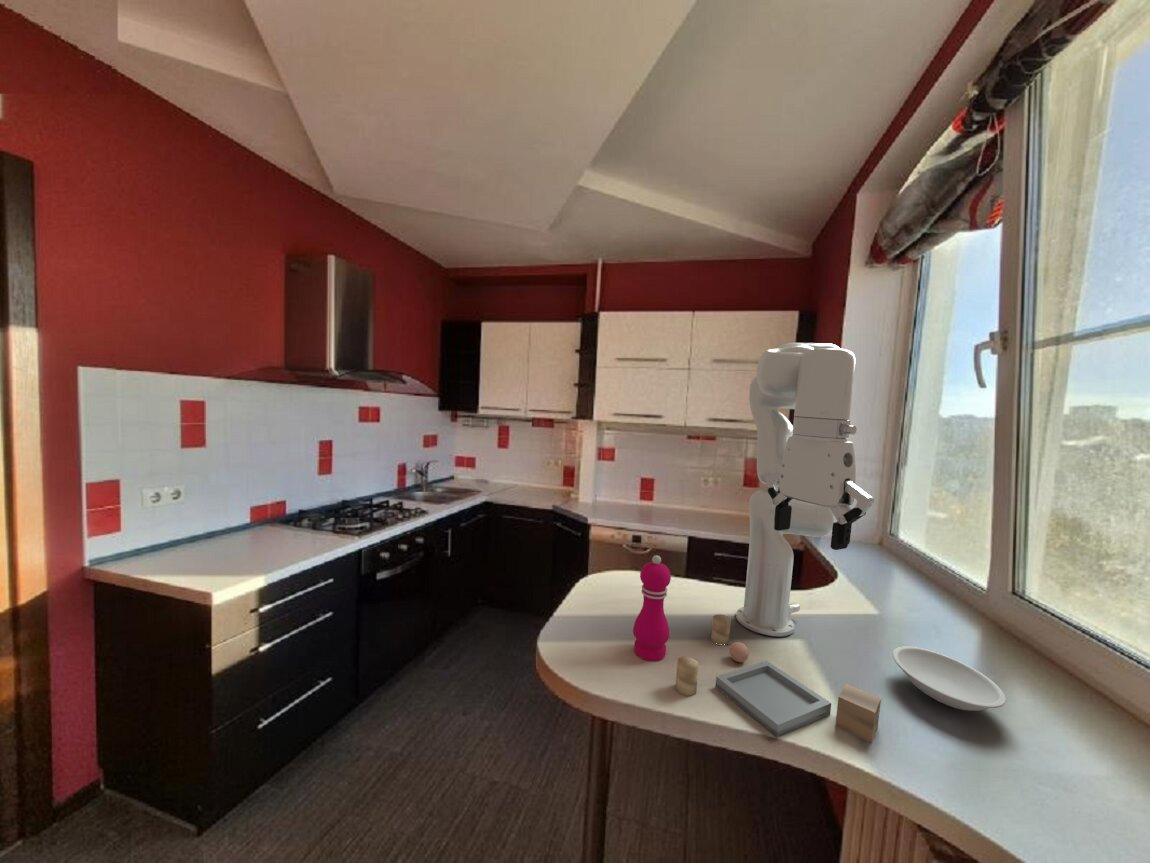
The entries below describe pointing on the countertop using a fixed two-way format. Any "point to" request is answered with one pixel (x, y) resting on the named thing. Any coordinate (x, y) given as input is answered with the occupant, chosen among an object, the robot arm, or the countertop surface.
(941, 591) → the countertop surface
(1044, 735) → the countertop surface
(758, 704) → the tray
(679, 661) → the cork
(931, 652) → the dish
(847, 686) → the walnut block
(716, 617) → the cork
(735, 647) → the ball
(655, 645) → the pepper mill
